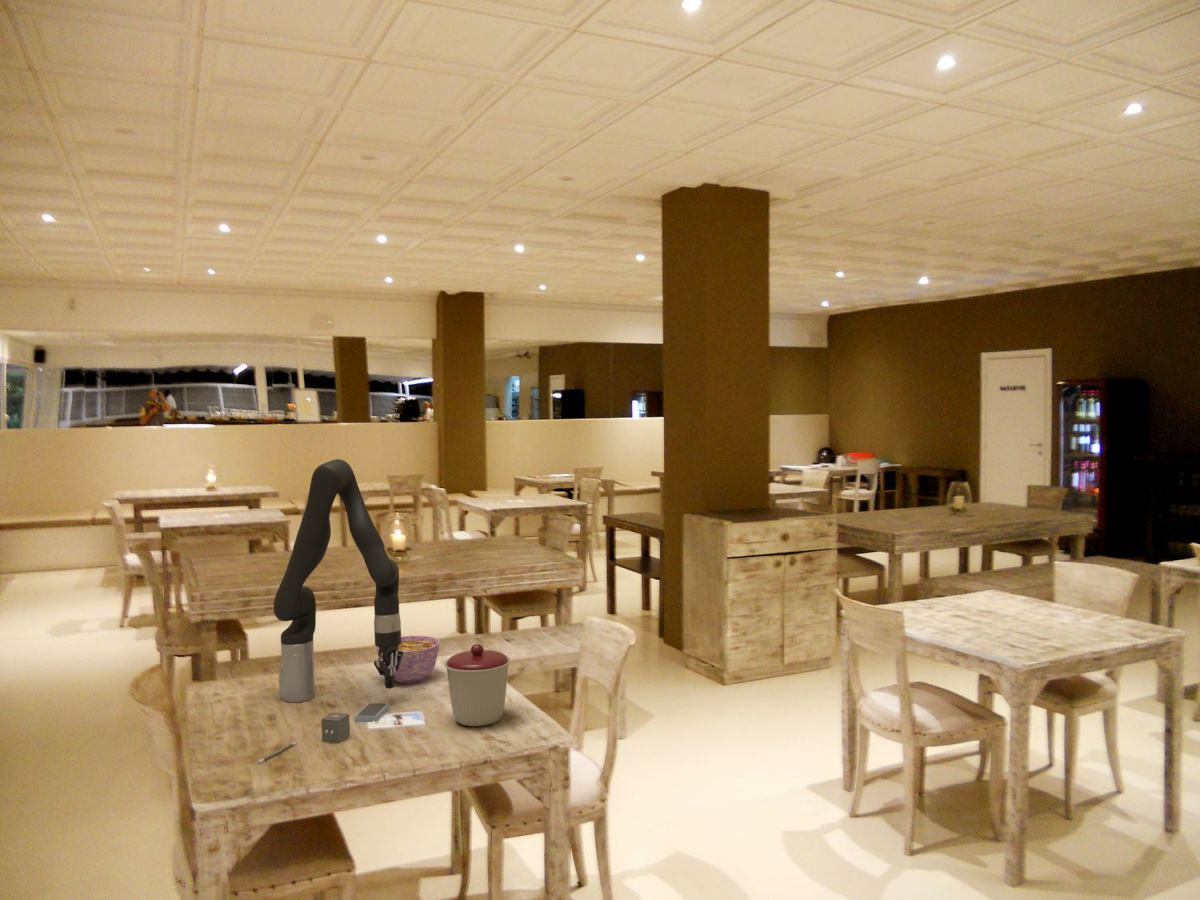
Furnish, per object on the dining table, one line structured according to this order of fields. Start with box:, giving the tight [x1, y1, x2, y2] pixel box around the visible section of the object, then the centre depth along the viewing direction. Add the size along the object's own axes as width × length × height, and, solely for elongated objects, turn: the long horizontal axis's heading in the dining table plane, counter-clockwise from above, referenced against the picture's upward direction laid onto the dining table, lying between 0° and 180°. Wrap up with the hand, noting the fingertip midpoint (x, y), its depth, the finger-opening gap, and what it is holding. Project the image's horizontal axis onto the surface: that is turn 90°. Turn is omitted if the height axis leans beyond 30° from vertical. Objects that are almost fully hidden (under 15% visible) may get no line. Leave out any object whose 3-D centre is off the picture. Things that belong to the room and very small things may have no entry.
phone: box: [354, 702, 390, 723], centre depth 241 cm, size 6×11×2 cm, turn 175°
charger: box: [321, 712, 351, 744], centre depth 223 cm, size 5×6×6 cm
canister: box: [443, 643, 512, 727], centre depth 235 cm, size 18×18×21 cm
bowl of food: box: [375, 635, 441, 684], centre depth 274 cm, size 20×20×12 cm
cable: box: [258, 741, 297, 764], centre depth 214 cm, size 13×1×1 cm, turn 160°
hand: (389, 687), depth 250 cm, fingers closed
